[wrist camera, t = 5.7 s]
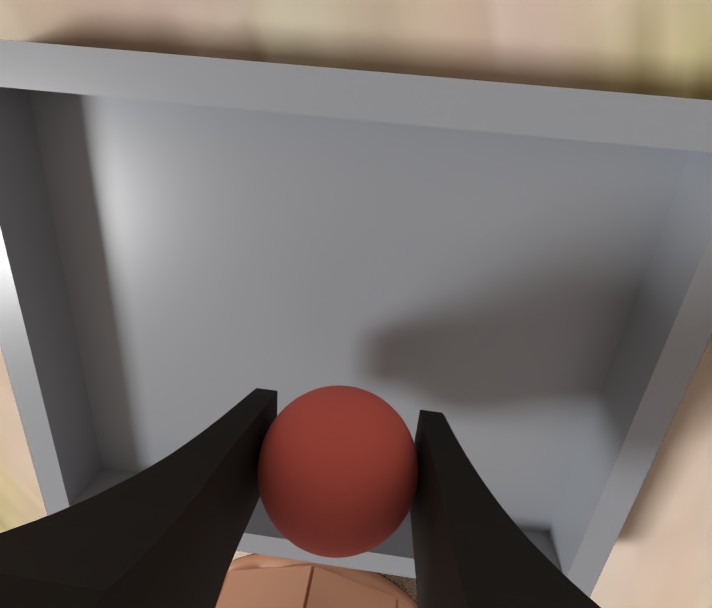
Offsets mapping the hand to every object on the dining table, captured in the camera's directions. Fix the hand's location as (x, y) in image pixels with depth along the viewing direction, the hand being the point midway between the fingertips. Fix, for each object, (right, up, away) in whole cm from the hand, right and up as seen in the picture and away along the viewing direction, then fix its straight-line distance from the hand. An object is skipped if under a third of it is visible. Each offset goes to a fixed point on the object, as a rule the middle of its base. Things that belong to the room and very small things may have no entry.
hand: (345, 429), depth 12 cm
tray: (-1, +2, +3) cm, 4 cm away
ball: (0, -1, -1) cm, 1 cm away
